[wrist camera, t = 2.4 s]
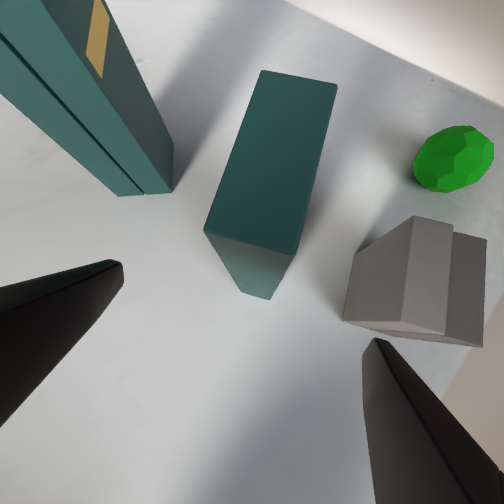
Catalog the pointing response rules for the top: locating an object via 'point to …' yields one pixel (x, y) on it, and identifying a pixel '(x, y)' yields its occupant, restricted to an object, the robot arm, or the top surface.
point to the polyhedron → (453, 159)
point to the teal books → (85, 91)
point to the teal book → (270, 180)
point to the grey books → (420, 284)
